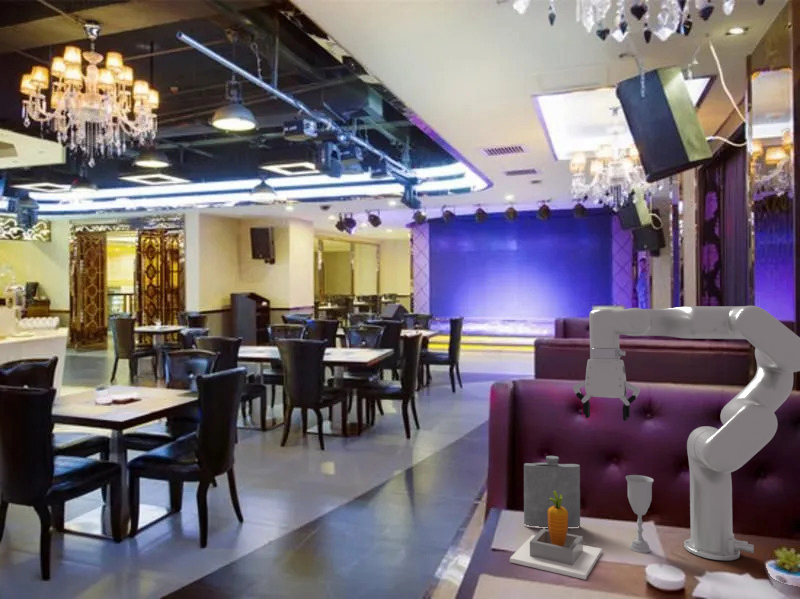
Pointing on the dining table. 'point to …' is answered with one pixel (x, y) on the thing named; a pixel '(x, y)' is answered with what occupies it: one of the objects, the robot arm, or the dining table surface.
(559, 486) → the hip flask
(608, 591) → the dining table surface
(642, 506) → the chalice
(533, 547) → the stand
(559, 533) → the carrot
